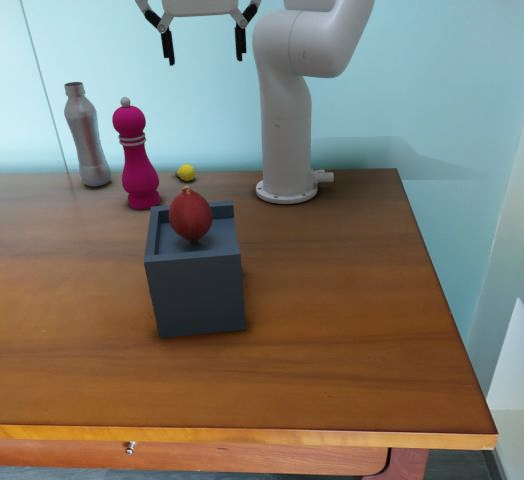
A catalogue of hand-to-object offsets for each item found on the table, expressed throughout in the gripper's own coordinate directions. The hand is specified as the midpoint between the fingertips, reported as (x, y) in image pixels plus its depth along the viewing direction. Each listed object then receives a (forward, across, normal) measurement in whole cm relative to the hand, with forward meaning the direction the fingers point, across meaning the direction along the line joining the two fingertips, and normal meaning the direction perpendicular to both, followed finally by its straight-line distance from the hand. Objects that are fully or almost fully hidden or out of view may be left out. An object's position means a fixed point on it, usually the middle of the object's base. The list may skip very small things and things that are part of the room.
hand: (206, 61), depth 75 cm
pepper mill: (+28, -15, +18) cm, 37 cm away
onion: (+18, -4, -19) cm, 27 cm away
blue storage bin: (+28, -4, -19) cm, 34 cm away
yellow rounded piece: (+28, -7, +29) cm, 41 cm away
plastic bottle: (+28, -26, +30) cm, 49 cm away
